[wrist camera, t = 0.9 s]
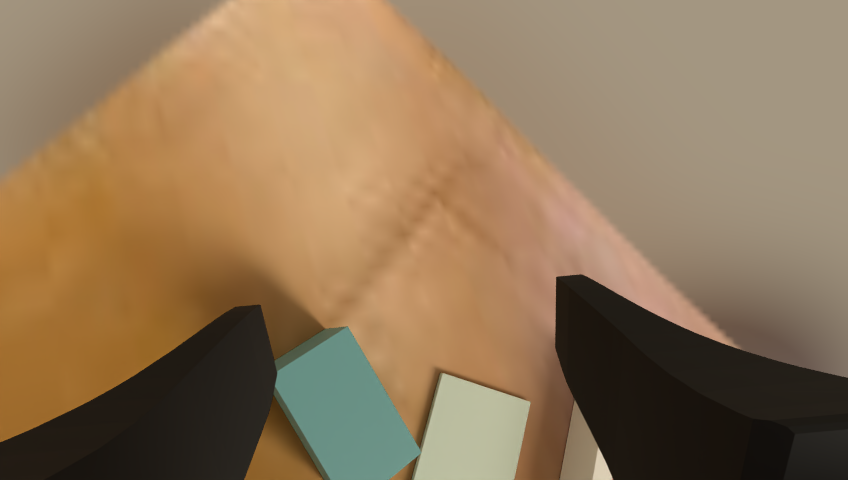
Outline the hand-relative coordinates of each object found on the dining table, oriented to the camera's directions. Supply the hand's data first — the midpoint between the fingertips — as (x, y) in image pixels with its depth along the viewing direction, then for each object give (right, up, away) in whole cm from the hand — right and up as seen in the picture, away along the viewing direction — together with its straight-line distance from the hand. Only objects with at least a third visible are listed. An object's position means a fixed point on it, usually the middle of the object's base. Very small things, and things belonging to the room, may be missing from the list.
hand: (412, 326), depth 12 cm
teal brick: (-4, -6, +12) cm, 14 cm away
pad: (+2, -9, +14) cm, 17 cm away
